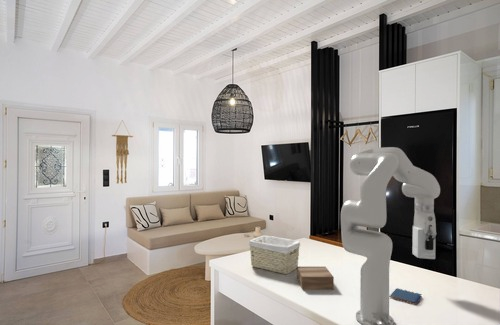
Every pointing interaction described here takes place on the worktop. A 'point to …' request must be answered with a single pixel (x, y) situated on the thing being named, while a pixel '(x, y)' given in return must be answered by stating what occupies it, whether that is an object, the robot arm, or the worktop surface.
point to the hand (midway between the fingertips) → (423, 247)
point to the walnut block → (315, 278)
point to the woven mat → (406, 296)
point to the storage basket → (274, 254)
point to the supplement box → (421, 245)
